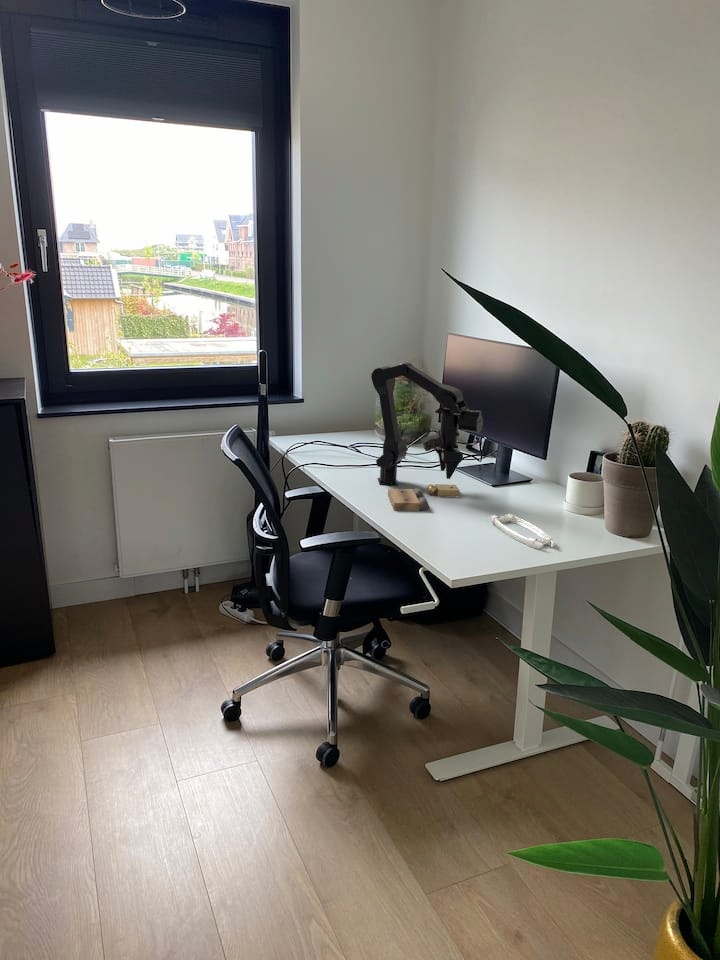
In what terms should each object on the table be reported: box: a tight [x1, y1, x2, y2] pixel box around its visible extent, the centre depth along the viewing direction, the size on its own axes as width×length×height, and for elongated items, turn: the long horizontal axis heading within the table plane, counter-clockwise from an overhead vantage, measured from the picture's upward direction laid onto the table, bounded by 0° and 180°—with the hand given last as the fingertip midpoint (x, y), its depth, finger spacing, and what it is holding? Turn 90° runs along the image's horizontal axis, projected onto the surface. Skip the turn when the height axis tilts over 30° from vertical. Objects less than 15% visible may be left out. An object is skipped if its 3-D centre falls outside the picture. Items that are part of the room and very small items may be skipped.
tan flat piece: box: [387, 487, 430, 511], centre depth 228 cm, size 11×14×3 cm
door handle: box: [490, 513, 556, 550], centre depth 206 cm, size 3×10×25 cm
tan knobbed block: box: [426, 483, 461, 497], centre depth 239 cm, size 10×6×3 cm, turn 95°
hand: (445, 474), depth 237 cm, fingers open, 9 cm apart
